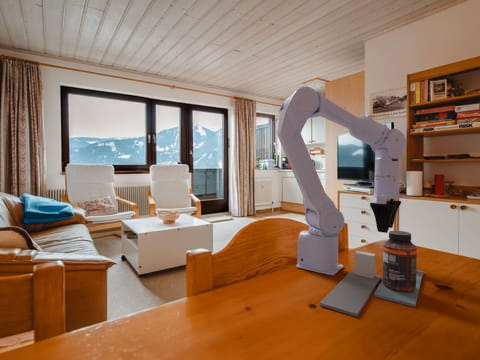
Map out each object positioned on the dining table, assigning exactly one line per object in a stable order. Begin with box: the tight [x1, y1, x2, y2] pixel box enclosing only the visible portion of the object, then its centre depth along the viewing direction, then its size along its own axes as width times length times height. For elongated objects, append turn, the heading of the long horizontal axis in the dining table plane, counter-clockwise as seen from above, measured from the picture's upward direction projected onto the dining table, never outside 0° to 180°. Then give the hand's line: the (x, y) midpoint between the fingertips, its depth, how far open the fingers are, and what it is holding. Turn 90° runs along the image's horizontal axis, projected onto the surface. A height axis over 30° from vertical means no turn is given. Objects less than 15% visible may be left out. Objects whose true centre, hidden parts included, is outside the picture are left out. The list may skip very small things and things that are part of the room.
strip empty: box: [319, 250, 382, 318], centre depth 56 cm, size 6×21×6 cm, turn 143°
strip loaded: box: [373, 269, 424, 308], centre depth 60 cm, size 7×21×6 cm, turn 143°
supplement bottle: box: [382, 230, 418, 292], centre depth 57 cm, size 6×6×11 cm
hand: (385, 229), depth 71 cm, fingers open, 7 cm apart
